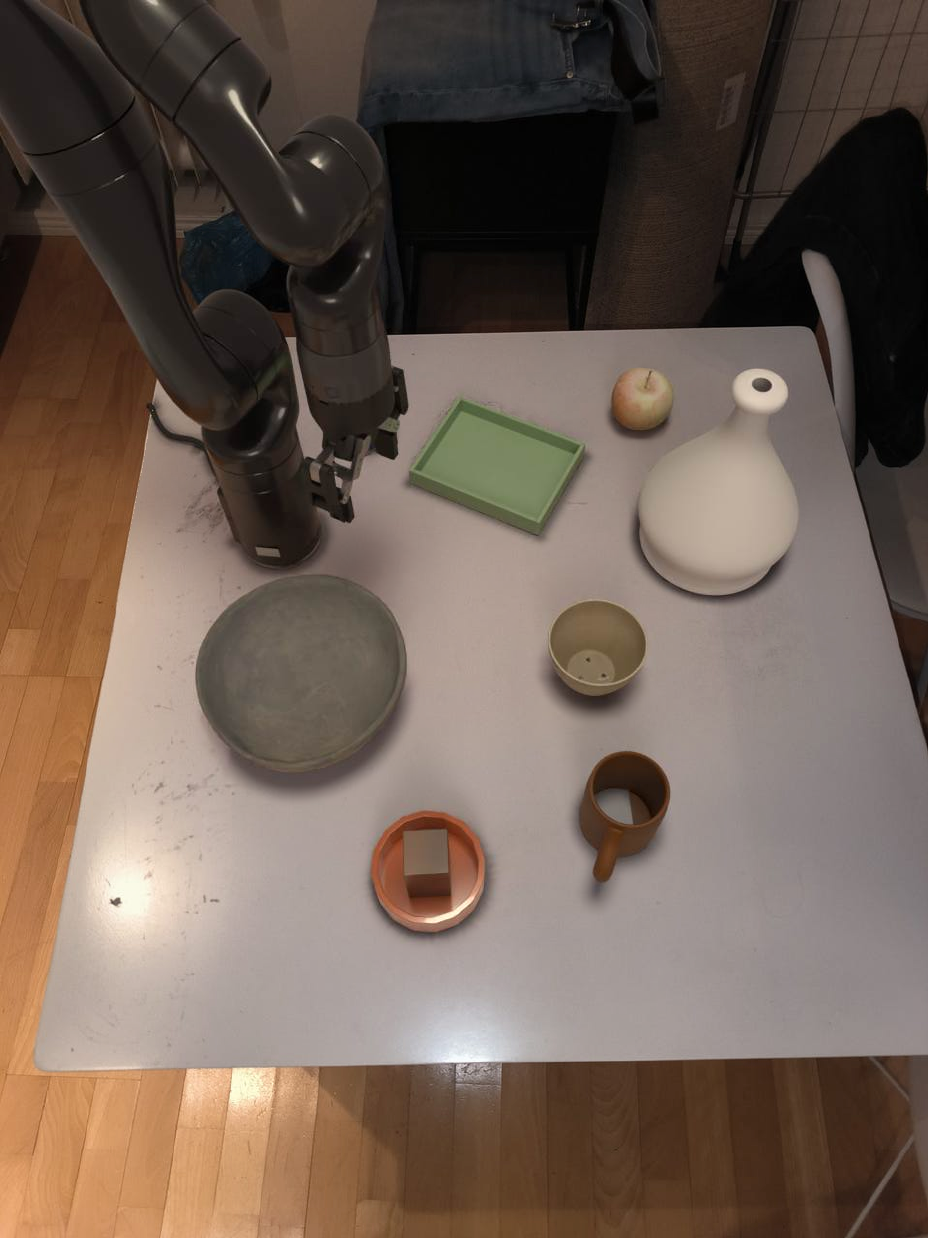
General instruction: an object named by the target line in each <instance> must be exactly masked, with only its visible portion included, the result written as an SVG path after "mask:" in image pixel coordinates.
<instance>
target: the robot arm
mask: <svg viewBox="0 0 928 1238" xmlns="http://www.w3.org/2000/svg"><path fill="white" fill-rule="evenodd" d="M76 2H77V5H78V7H79V9H80V11H81V13H82V16H83V18H84V21H85V23H86V25H87V27H88V29H89V31H90V33H91V34H92V37H93V38H94V40H93V39H92V38H91V37H89V36H88V35H87V34H85V33H84V32H83V31H82V30H80V29H79V28H78V27H77V26H75V25H74V24H72V23H71V22H69V21H68V20H66V19H65V18H64V17H62V16H61V15H59V13H56V12H55V10H52V9H51V8H49V7H48V6H47V5H45V4H44V3H42V2H41V1H40V0H0V119H1V121H2V122H3V124H4V125H5V127H6V129H7V131H8V132H9V134H10V135H11V137H12V139H13V140H14V142H15V144H16V146H17V147H18V149H19V150H20V152H21V154H22V155H23V157H24V159H25V160H26V161H27V163H28V164H29V166H30V168H31V169H32V171H33V172H34V174H35V175H36V177H37V179H38V180H39V182H40V183H41V185H42V187H43V188H44V189H45V191H46V192H47V194H48V195H49V197H50V199H51V200H52V201H53V203H54V204H55V206H56V207H57V208H58V210H59V211H60V213H61V215H63V217H64V219H65V220H66V222H67V223H68V225H69V226H70V228H71V230H72V231H73V232H74V234H75V235H76V237H77V238H78V240H79V242H80V243H81V245H82V247H83V248H84V249H85V251H86V253H87V254H88V257H89V258H90V259H91V261H92V262H93V264H94V266H95V267H96V269H97V270H98V273H99V274H100V276H101V278H102V279H103V280H104V283H105V284H106V286H107V287H108V289H109V291H110V293H111V294H112V296H113V299H114V300H115V303H117V306H118V308H119V309H120V311H121V313H122V315H123V317H124V320H125V321H126V323H127V325H128V327H129V329H130V330H131V332H132V333H131V334H132V335H133V337H134V338H135V340H136V342H137V344H138V346H139V348H140V350H141V352H142V355H143V356H144V359H145V360H146V362H147V364H148V365H149V367H150V369H151V371H152V373H153V374H154V376H155V378H156V380H157V381H158V383H159V384H160V386H161V388H162V389H163V391H164V392H165V393H166V395H167V396H168V398H170V400H171V401H172V403H173V404H174V405H175V406H176V407H177V408H178V409H179V410H180V411H181V413H183V414H184V415H185V416H186V417H187V418H189V420H191V421H193V422H194V423H195V424H197V425H199V426H200V430H201V431H200V432H201V437H202V440H201V439H200V438H197V437H194V436H191V435H183V434H178V433H174V432H172V431H170V430H168V429H167V428H166V427H165V426H164V424H163V423H162V421H161V419H160V417H159V414H158V411H157V409H156V406H155V405H154V404H153V403H151V402H147V403H146V404H145V407H146V408H147V409H148V410H149V414H150V416H151V415H152V416H151V418H152V421H153V422H154V424H155V426H156V428H157V429H158V431H159V432H160V433H161V434H162V436H164V437H166V438H168V439H170V440H173V441H177V442H182V443H188V444H192V445H194V446H197V447H198V448H199V449H201V450H202V451H203V453H204V455H205V457H206V459H207V462H208V464H209V467H210V469H211V471H212V473H213V475H214V477H215V478H216V479H217V481H218V484H219V486H218V487H217V489H216V496H217V498H218V500H219V502H220V503H219V504H220V505H221V508H222V511H223V514H224V516H225V518H226V521H227V523H228V526H229V529H230V531H231V535H232V536H233V539H234V542H236V543H237V544H240V545H241V549H242V550H243V552H244V555H245V556H246V557H247V559H249V561H251V562H252V563H253V564H255V565H257V566H258V567H261V568H263V569H267V570H273V571H284V570H289V569H293V568H296V567H298V566H300V565H302V564H304V563H306V562H307V561H308V560H310V559H311V558H312V557H314V555H315V554H316V552H317V551H318V549H319V548H320V545H321V543H322V540H323V526H322V522H321V519H320V518H319V514H318V510H317V509H320V510H323V511H325V512H327V513H329V517H330V518H332V519H334V520H337V521H339V522H340V523H343V524H346V523H347V524H352V522H353V521H354V519H355V518H356V515H355V510H354V505H353V499H352V496H351V493H352V487H353V483H354V481H356V480H358V479H359V478H360V476H361V472H362V467H363V463H364V459H365V455H366V453H367V452H369V451H368V449H369V446H370V445H371V444H372V443H373V442H374V441H375V448H376V449H375V452H376V453H377V454H378V455H379V456H381V457H383V458H386V459H388V460H391V461H395V460H396V458H397V457H398V456H399V446H398V445H399V441H398V430H399V429H400V425H401V421H400V420H399V418H400V416H405V415H406V414H407V413H408V411H409V399H408V398H409V397H408V391H407V385H406V378H405V371H404V369H403V368H400V367H397V366H395V365H392V359H391V349H390V341H389V336H388V333H387V329H386V326H385V323H384V322H385V321H384V316H383V315H384V314H383V306H382V299H381V298H382V297H381V289H380V283H379V274H380V266H381V261H382V258H383V251H384V244H385V237H386V227H387V219H388V212H389V211H388V210H389V182H388V176H387V175H388V174H387V170H386V167H385V163H384V159H383V158H382V154H381V152H380V150H379V148H378V146H377V143H375V141H374V139H373V138H372V136H371V135H370V134H369V133H368V131H366V129H365V128H364V127H363V126H362V125H360V124H359V123H358V122H357V121H355V120H354V119H352V118H350V117H347V116H345V115H343V114H338V113H325V114H321V115H317V116H315V117H313V118H312V119H309V120H308V121H306V122H305V123H304V124H302V125H301V126H300V128H298V129H297V131H296V132H294V134H292V136H291V137H290V138H289V139H288V141H287V142H285V143H284V144H283V145H282V147H281V148H279V150H276V148H275V147H274V146H273V144H272V143H271V141H270V139H269V137H268V134H267V133H266V131H265V129H264V127H263V125H262V124H261V120H260V118H259V116H260V114H261V112H263V109H264V107H265V106H266V103H267V102H268V100H269V97H270V94H271V91H272V86H273V85H272V84H273V80H272V75H271V72H270V70H269V68H268V66H267V65H266V64H265V62H264V61H263V60H262V58H261V57H260V56H259V55H258V54H257V53H256V51H255V50H254V49H253V48H252V47H251V46H250V45H249V44H248V43H247V42H246V41H245V40H244V39H243V38H242V36H241V35H239V34H238V32H236V30H235V29H234V28H233V27H232V26H231V25H230V24H229V23H228V22H227V21H226V20H225V19H224V17H222V15H220V14H219V13H218V11H216V9H214V7H213V6H211V5H210V4H209V3H208V1H207V0H76ZM135 90H136V91H137V92H138V93H139V94H140V95H142V96H143V97H144V98H145V100H147V101H148V102H149V103H150V104H151V105H152V107H154V108H155V109H156V110H157V111H158V112H160V114H161V115H162V116H164V118H165V119H166V120H167V121H168V122H170V124H172V125H174V128H175V129H177V130H178V131H179V132H180V133H181V134H182V135H183V136H184V137H185V138H186V140H188V141H189V143H190V144H191V145H192V147H193V148H194V149H195V151H196V153H197V155H198V156H199V157H200V159H201V161H202V162H203V163H204V165H205V167H206V168H207V170H208V171H209V173H210V174H211V176H212V177H213V179H214V180H215V182H216V183H217V184H218V186H219V187H220V189H221V191H222V192H223V194H224V195H225V197H226V198H227V200H228V201H229V203H230V205H231V207H232V208H233V210H234V212H235V213H236V214H237V216H238V218H239V220H240V221H241V222H242V223H243V225H244V227H245V228H246V230H247V231H248V232H249V234H250V235H251V236H252V238H253V239H254V240H255V241H256V242H257V244H259V246H261V248H262V249H264V250H265V251H266V252H267V253H268V254H270V255H271V256H272V257H273V258H276V259H278V261H280V262H282V263H285V264H287V265H289V268H288V271H287V275H286V281H285V284H286V285H285V286H286V295H287V301H288V305H289V310H290V314H291V319H292V324H293V328H294V332H295V346H296V347H295V348H296V350H295V351H296V355H297V356H296V357H297V361H298V365H299V370H300V374H301V379H302V383H303V389H304V392H305V397H306V403H307V405H308V410H309V413H310V415H311V417H312V419H313V420H314V422H315V424H317V426H318V427H319V429H320V430H321V432H322V441H321V448H322V450H321V451H320V452H319V454H318V455H317V457H315V458H314V457H311V456H308V455H307V456H306V457H305V456H304V452H303V448H302V445H301V440H300V436H299V432H298V428H297V423H298V420H299V416H300V401H299V400H300V399H299V395H298V394H299V393H298V387H297V383H296V382H297V381H296V376H295V370H294V364H293V359H292V355H291V354H292V353H291V350H290V347H289V343H288V341H287V338H286V335H285V333H284V331H283V330H282V328H281V325H280V324H279V323H278V321H277V320H276V318H275V317H274V316H273V315H272V313H271V312H270V311H269V309H268V308H267V307H266V306H265V305H264V304H262V303H261V302H260V301H258V299H256V298H254V297H253V296H251V295H249V294H248V293H245V292H244V291H241V290H237V289H229V288H223V289H222V288H221V289H219V290H216V291H213V292H211V293H209V294H208V295H207V296H206V297H205V298H203V299H202V301H201V302H199V304H198V305H197V306H196V307H195V308H194V309H193V310H192V307H191V305H190V303H189V300H188V298H187V295H186V292H185V289H184V286H183V283H182V278H181V274H180V268H179V258H178V246H177V245H178V244H177V224H176V209H175V198H174V188H173V181H172V174H171V170H170V169H171V168H170V165H169V161H168V157H167V154H166V152H165V148H164V147H163V145H162V143H161V140H160V138H159V136H158V133H157V132H156V130H155V128H154V126H153V125H152V123H151V121H150V119H149V117H148V114H147V113H146V111H145V110H144V107H143V106H142V104H141V102H140V100H139V98H138V96H137V94H136V92H135ZM152 410H153V411H152ZM335 458H336V459H338V460H342V461H346V462H349V463H350V468H349V467H347V466H345V465H341V464H340V463H337V462H336V461H335ZM336 478H339V479H341V482H342V483H341V486H340V487H339V486H337V482H336Z"/></svg>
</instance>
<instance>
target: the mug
mask: <svg viewBox="0 0 928 1238" xmlns="http://www.w3.org/2000/svg"><path fill="white" fill-rule="evenodd" d="M610 788H619V789H620V788H621V789H625V790H627V791H628V796H629V804H630V812H631V818H632V824H631V823H630V824H628V823H623V822H621V821H620V822H619V821H617V820H615V819H613V818H612V817H610V816H608V814H607V813H605V812H604V810H602V808H601V807H600V805H599V803H598V802H597V799H596V796H595V794H597V793H599V792H601V791H603V790H605V789H610ZM670 801H671V786H670V781H669V779H668V776H667V775H666V773H665V771H664V769H663V768H662V767H661V766H660V765H659V763H657V762H656V761H655V759H653V758H651V757H649V756H647V755H646V754H643V753H640V752H637V751H632V750H622V751H621V750H620V751H616V752H613V753H610V754H607V755H606V756H604V757H603V758H601V759H600V760H599V761H598V762H597V763H596V764H595V766H594V767H593V769H592V770H591V772H590V775H589V776H588V778H587V780H586V784H585V787H584V791H583V795H582V799H581V803H580V806H579V825H580V828H581V831H582V834H583V835H584V837H585V839H586V840H587V842H588V843H589V844H590V845H591V846H592V847H593V848H594V849H596V850H597V851H598V852H597V855H596V858H595V862H594V864H593V868H592V876H593V878H594V880H595V881H596V882H598V883H606V882H608V881H609V880H610V879H611V878H612V875H613V872H614V870H615V866H616V863H617V861H618V858H623V857H630V856H633V855H635V854H638V853H640V852H641V851H643V850H644V849H645V848H646V847H647V846H649V844H650V843H651V842H652V840H653V839H654V837H655V835H656V834H657V831H658V830H659V828H660V826H661V824H662V823H663V821H664V819H665V817H666V814H667V812H668V809H669V804H670Z"/></svg>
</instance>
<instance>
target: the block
mask: <svg viewBox="0 0 928 1238" xmlns="http://www.w3.org/2000/svg"><path fill="white" fill-rule="evenodd" d="M403 875H404V879H405V883H406V887H407V891H408V894H409V898H414V897H433V896H451V895H452V894H451V869H450V850H449V840H448V829H429V830H409V831H403Z"/></svg>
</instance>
